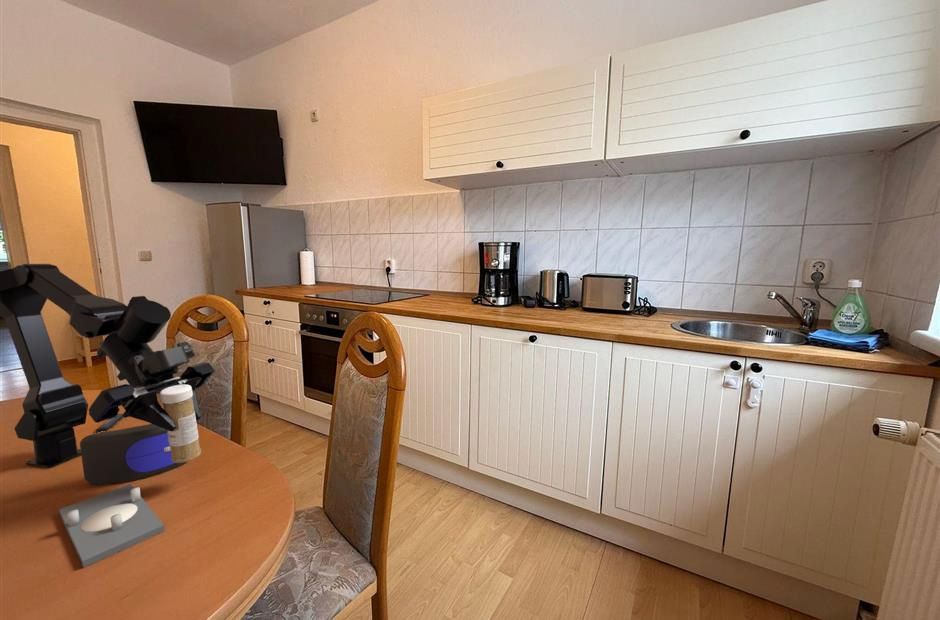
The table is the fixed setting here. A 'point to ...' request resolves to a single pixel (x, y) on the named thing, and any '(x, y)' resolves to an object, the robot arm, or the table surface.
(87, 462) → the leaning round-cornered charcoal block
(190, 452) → the sprinkles bottle
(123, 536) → the pin board
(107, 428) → the usb stick
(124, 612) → the table surface
